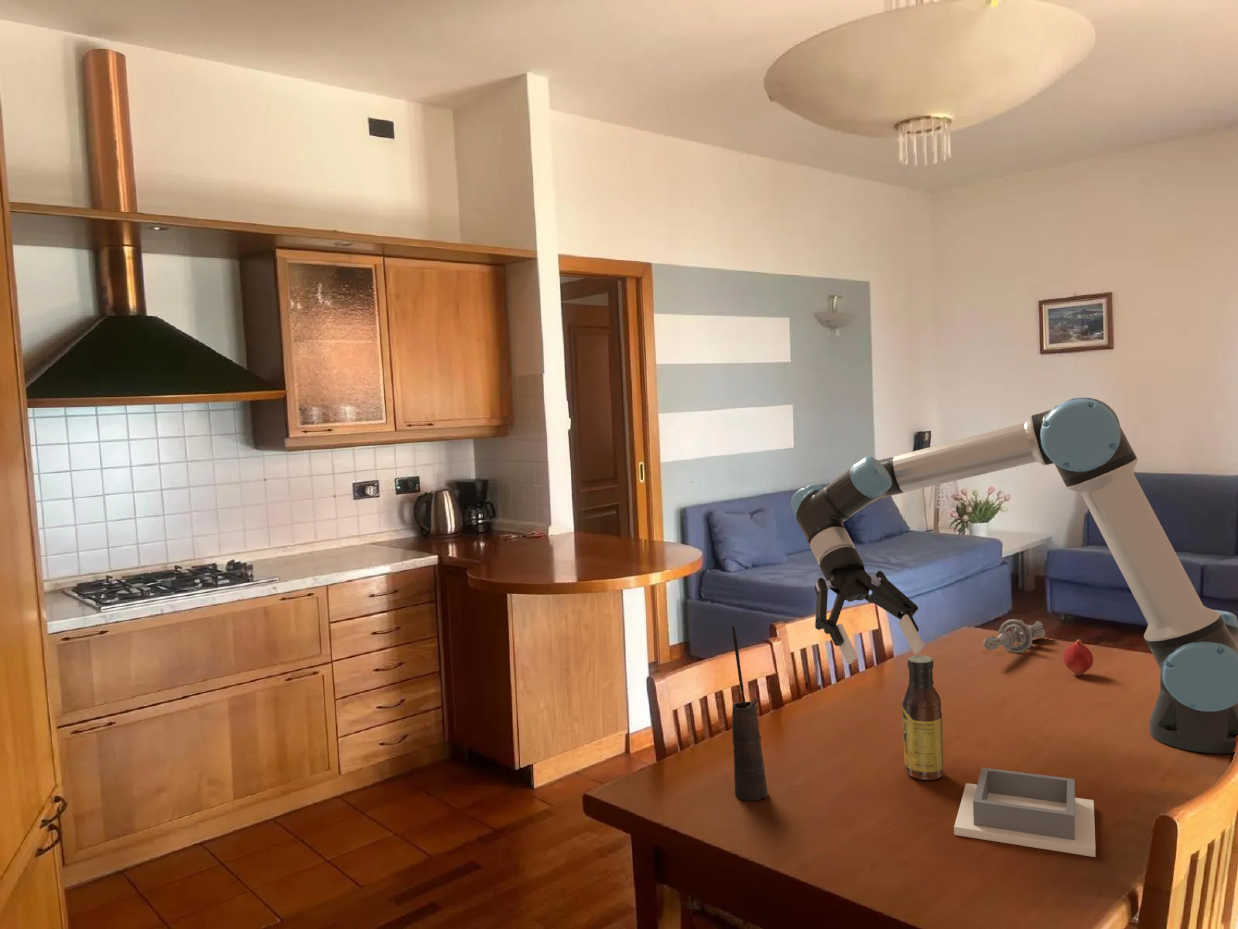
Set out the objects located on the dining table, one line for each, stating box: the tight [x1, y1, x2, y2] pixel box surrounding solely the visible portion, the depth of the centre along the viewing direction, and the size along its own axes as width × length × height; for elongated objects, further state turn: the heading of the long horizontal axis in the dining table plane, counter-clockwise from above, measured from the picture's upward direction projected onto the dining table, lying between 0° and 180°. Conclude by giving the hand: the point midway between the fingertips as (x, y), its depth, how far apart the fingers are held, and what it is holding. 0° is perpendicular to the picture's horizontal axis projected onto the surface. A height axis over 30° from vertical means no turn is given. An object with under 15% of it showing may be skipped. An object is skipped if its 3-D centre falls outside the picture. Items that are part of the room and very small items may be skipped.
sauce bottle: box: [901, 654, 945, 781], centre depth 152 cm, size 7×6×20 cm
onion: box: [1063, 639, 1094, 677], centre depth 200 cm, size 6×6×8 cm
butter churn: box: [731, 624, 769, 802], centre depth 149 cm, size 9×10×28 cm
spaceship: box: [983, 618, 1046, 654], centre depth 220 cm, size 8×35×8 cm
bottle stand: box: [953, 766, 1096, 858], centre depth 135 cm, size 18×16×5 cm
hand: (886, 655), depth 160 cm, fingers open, 13 cm apart
